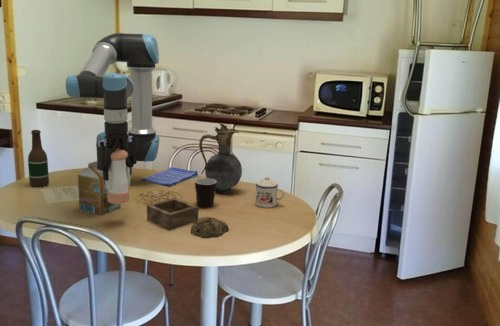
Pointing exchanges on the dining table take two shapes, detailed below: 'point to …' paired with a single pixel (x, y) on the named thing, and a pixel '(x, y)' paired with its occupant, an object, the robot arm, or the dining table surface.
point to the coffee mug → (205, 192)
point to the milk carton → (94, 191)
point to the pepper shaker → (118, 178)
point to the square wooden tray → (172, 213)
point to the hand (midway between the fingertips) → (118, 186)
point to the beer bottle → (37, 162)
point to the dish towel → (170, 177)
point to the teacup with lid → (267, 193)
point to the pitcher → (222, 161)
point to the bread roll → (209, 227)
